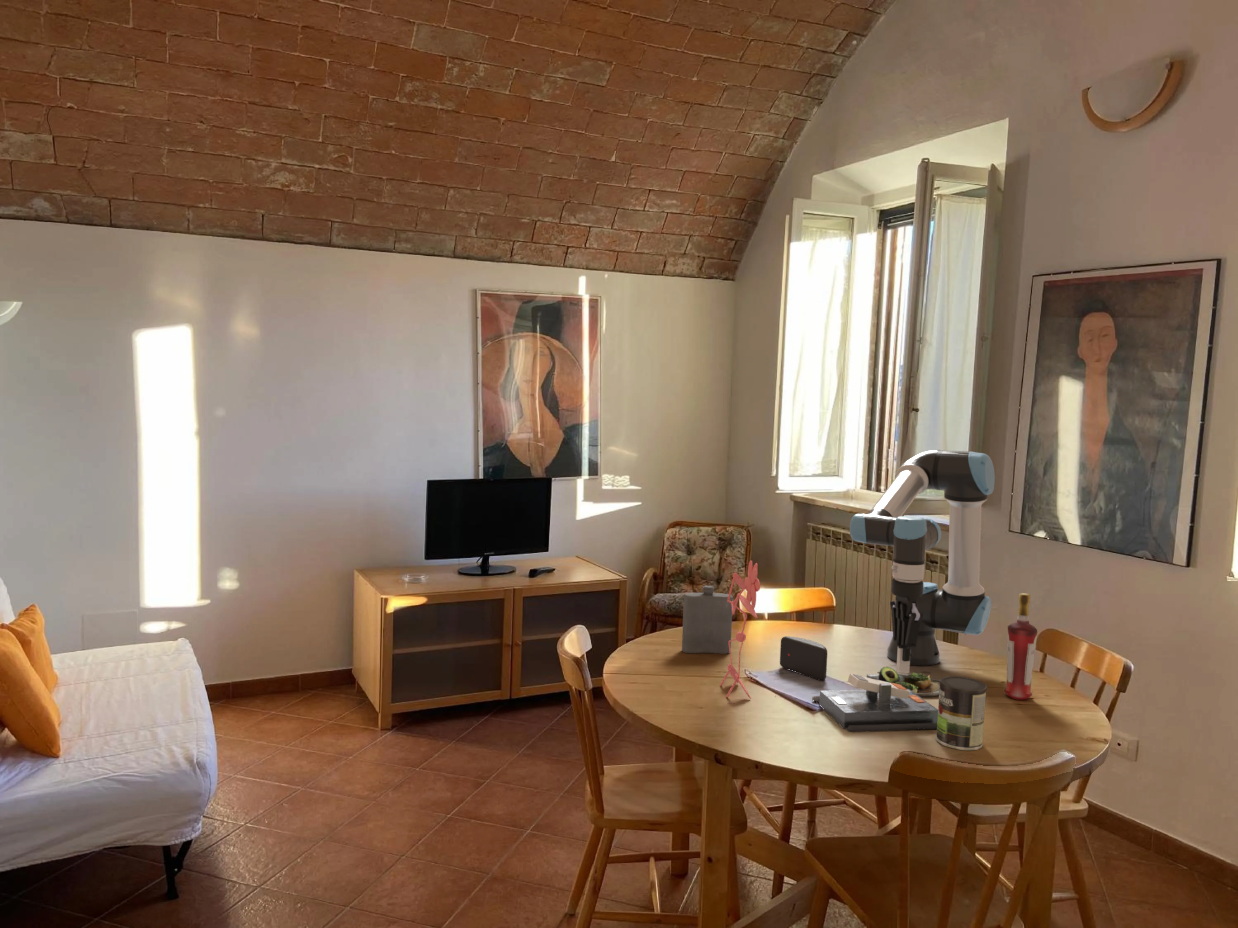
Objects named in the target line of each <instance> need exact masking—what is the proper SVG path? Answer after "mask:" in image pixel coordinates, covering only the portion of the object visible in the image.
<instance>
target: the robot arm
mask: <svg viewBox="0 0 1238 928" xmlns="http://www.w3.org/2000/svg"><path fill="white" fill-rule="evenodd" d="M995 482H996V475H995V468H994V463H993V461H992V459H991V457H990V455H988V454H986V453H984V452H975V451H969V450H968V451H966V450H965V451H964V450H963V451H962V450H945V449H944V450H941V449H930V450H926V451H922V452H920V453H917V454H916V455H914V456H912V457H910V458H909V459H907V460H906V461H904V462H903V463H902V464H901V465H900V466H899V467H898V469H897V470H896V472H895V474H894V480H893V481H892V482H891V483H890V484H889V486H888V487H887V488H886V489H885V491H884V492H883V493H882V495H880V497H879V499H878V500H877V501H876V502H875V504H874V505H873V506H872V507H871V508H870V509H869V511H868V513H856V514H854V515H853V516H852V518H851V519H850V523H849V534H850V538H851V540H852V541H854V542H857V543H863V544H869V545H880V546H888V547H892V548H893V549H892V550H893V551H892V552H893V553H892V566H891V568H890V569H891V570H892V571H891V575H892V579H891V585H890V586H891V587H890V592H891V594H892V595H893V596H895V600H892V601H889V606H890V609H891V623H892V624H891V625H892V626H891V627H892V637H891V640H890V642H889V644H888V647H887V651H886V652H887V658H889V659H890V660H892V661H894V662H896V670H895V671H896V672H897V674H910V666H911V665H913V666H933V665H937V664H939V662H940V652H939V647H938V644H937V639H936V635H935V634H936V633H935V632H936V629H937V630H943V631H949V632H953V633H959V634H964V635H974V636H979V635H981V634H983V632H985V631H984V630H985V629H986V627H987V624H988V621H989V618H990V615H991V608H992V599H991V597H989V596H988V595H986V593H985V592H986V591H985V588H984V586H982V585H981V583H980V577H981V576H980V573H981V572H980V568H981V538H982V537H981V533H982V505H983V504H984V503H985V502H987V501H988V496H989V495H992V494H993V492H994V489H995ZM926 490H936V491H943V493H944V494H943V495H944V496H943V498H944V499H945V501H946V502H947V503H948V504H949V513H948V514H949V515H948V517H949V519H948V520H949V521H948V522H949V524H948V526H949V527H948V529H949V530H948V568H947V569H948V573H947V574H948V576H947V578H948V579H947V580H948V581H947V582H946V583H944V585H942V589H939V586H938V584H937V583H934V582H930V581H929V582H928V581H923V580H924V578H925V568H926V567H925V565H926V564H925V561H926V551H927V550H931V549H933V548H934V547H935V546H936V545H937V544H938V543H939V542H940V541H941V538H942V529H941V527H940V525H939V524H938V523H937V521H935V520H933V519H930V518H924V517H920V516H917V515H915V516H914V515H904V513H906V511H907V509H908V508H909V507H910V506H911V504H912V503H913V501H914V500H915V499H916V498H917V496H918V495H921V494H922V493H924V492H926ZM903 515H904V516H903Z"/></svg>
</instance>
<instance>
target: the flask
mask: <svg viewBox="0 0 1238 928" xmlns="http://www.w3.org/2000/svg"><path fill="white" fill-rule="evenodd" d="M701 590H702V592H687V593H684V594H683V609H682V613H683V615H682V639H681V651H682V652H683V653H685V654H718V653H720V654H721V655H722V654H723V655H726V654H727V653H728V654H730V652H729V644H728V641H730V640H732V629H733V628H732V627H733V626H732V625H733V624H732V622H733V615H732V606H731V603H729V602H727V599H728V595H729V593H720V592H719V593H718V592H715V587H714V586H712V585H704V586H702V589H701ZM729 600H730V601H732V602H733V601H734V598H733V595H732V594H731V595H730V599H729ZM731 647H732V641H731V642H730V649H732V648H731ZM720 654H719V655H720Z"/></svg>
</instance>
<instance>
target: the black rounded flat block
mask: <svg viewBox="0 0 1238 928" xmlns="http://www.w3.org/2000/svg"><path fill="white" fill-rule="evenodd" d="M779 652H780V653H779V665H780V667H782V668H783V669H784V668H785V669H784V670H787V669H790V670H793V671H796V672H798V673H797V674H799V673H801V674H800V675H802V674H804V675H803V676H805V675H806V676H805V677H809V676H810V677H809V678H812V679H814V680H818V679H819V681H825V680H827V679H826V678H827V672H828V671H827V670H828V669H827V666H828V649H827V648H826V646H824V645H823V644H821V643H819V642H816V641H814V640H810V639H806V638H802V637H798V636H797V637H796V636H789V635H788V636H782V637H781V638H780V649H779ZM790 670H789V671H790ZM793 671H792V672H793ZM796 672H795V673H796Z"/></svg>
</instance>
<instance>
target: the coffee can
mask: <svg viewBox="0 0 1238 928" xmlns="http://www.w3.org/2000/svg"><path fill="white" fill-rule="evenodd" d="M938 680H939V683H940V685H939V686H940V690H939V695H938V707H937V709H938V721H937V729H936V736H935V739H936V740H935V741H936V742H938V743H939V744H940V745H943V746H944V747H947V748H950V749H954V750H958V751H967V752H968V751H969V752H970V751H976V750H979V749H982V748H983V739H984V737H983V736H984V724H985V723H984V722H985V707H986V697H987V690H988V686H987V684H986V683H985V682H983V681H980V680H978V679H975V678H970V677H966V676H957V675H951V676H950V675H948V676H943V677H941V678H940V679H938Z"/></svg>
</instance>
